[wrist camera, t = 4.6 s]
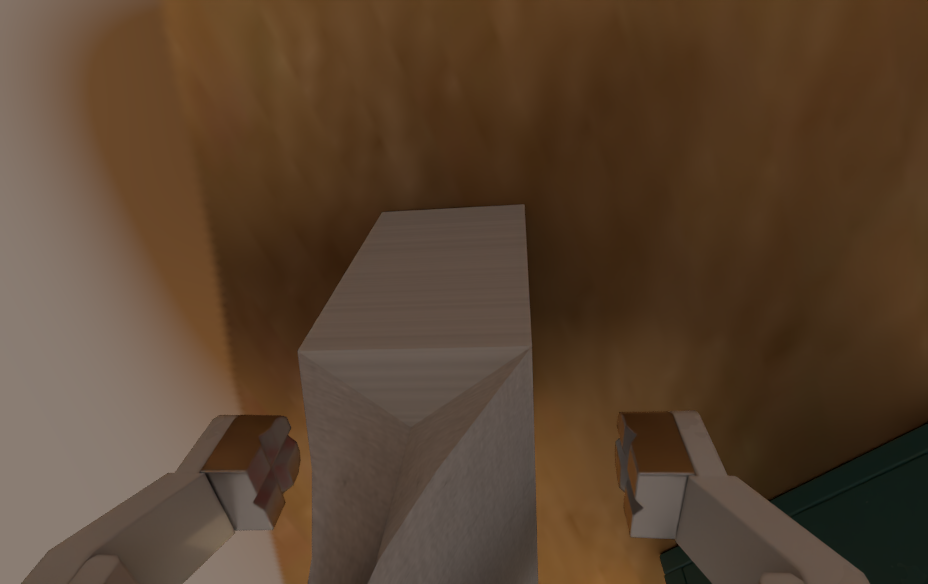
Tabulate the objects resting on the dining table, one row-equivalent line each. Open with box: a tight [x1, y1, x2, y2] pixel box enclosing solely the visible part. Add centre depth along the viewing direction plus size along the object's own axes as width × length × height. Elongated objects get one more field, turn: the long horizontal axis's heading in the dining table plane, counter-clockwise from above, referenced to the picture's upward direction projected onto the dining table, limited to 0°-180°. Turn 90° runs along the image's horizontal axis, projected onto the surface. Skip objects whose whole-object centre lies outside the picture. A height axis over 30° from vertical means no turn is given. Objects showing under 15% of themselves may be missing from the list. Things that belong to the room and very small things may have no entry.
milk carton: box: [298, 204, 538, 584], centre depth 10 cm, size 4×7×10 cm, turn 5°
